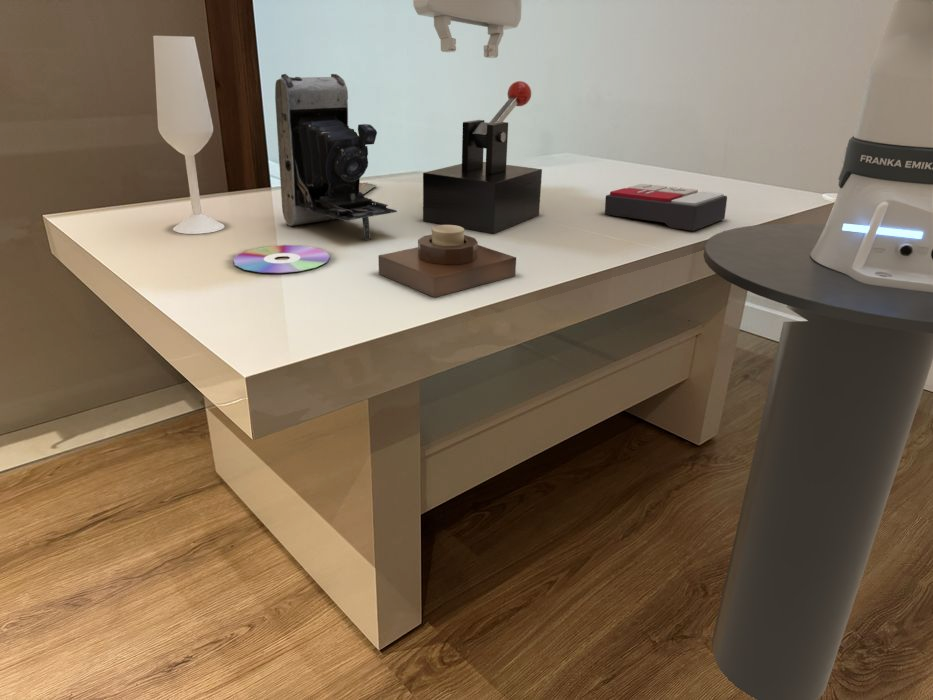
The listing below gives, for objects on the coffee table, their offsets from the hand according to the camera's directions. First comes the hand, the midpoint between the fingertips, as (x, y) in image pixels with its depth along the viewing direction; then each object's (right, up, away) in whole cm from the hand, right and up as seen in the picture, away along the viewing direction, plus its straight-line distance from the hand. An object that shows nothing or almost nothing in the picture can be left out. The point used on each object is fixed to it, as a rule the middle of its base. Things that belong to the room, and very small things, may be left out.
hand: (470, 54), depth 107 cm
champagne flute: (-37, -28, -10) cm, 48 cm away
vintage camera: (-18, -28, -9) cm, 35 cm away
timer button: (-3, -33, -28) cm, 44 cm away
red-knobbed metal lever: (+5, -11, -2) cm, 13 cm away
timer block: (-3, -36, -27) cm, 45 cm away
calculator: (+30, -25, +2) cm, 39 cm away
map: (-21, -19, +10) cm, 30 cm away
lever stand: (+2, -25, -1) cm, 25 cm away
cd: (-23, -34, -23) cm, 47 cm away
